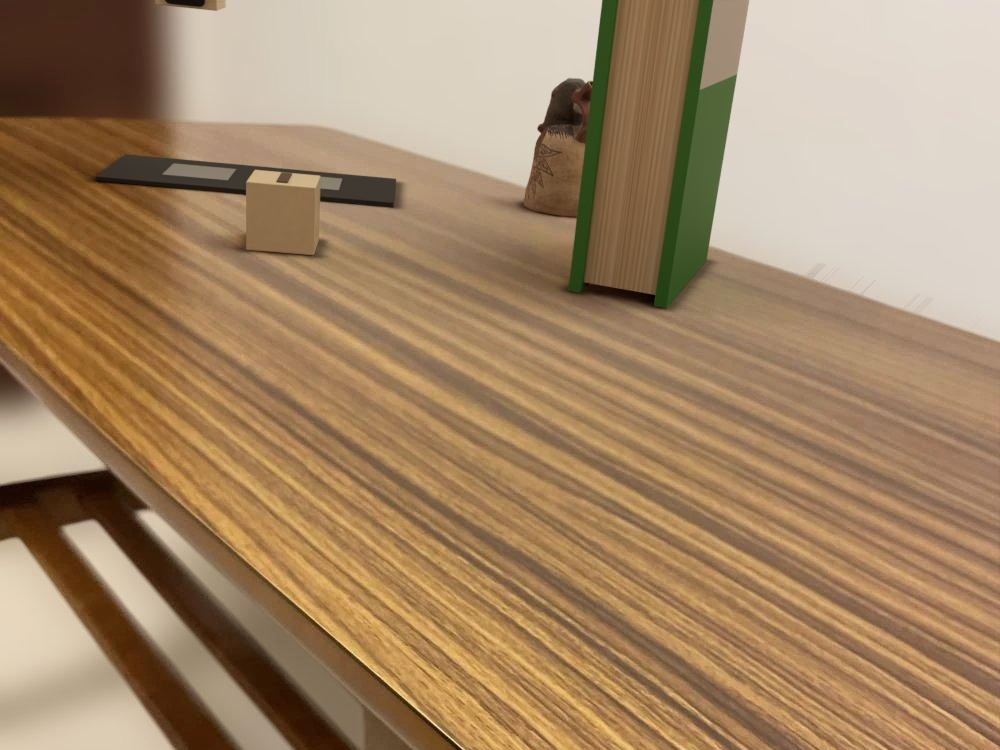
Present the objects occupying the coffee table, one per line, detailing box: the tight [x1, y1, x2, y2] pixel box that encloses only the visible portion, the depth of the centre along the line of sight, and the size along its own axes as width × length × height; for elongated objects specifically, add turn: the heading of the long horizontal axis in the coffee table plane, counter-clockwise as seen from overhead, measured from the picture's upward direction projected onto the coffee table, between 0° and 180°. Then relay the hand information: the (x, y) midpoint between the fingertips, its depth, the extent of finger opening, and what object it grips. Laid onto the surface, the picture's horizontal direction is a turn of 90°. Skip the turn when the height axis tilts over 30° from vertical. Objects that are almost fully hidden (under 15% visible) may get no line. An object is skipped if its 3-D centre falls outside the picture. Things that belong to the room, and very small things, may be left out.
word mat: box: [95, 153, 397, 208], centre depth 115 cm, size 26×12×1 cm, turn 95°
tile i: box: [245, 170, 321, 256], centre depth 93 cm, size 5×5×5 cm
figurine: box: [523, 77, 593, 218], centre depth 116 cm, size 7×7×12 cm
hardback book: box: [567, 0, 750, 309], centre depth 93 cm, size 18×7×24 cm, turn 163°
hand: (190, 0), depth 105 cm, fingers closed on tile h, 5 cm apart
